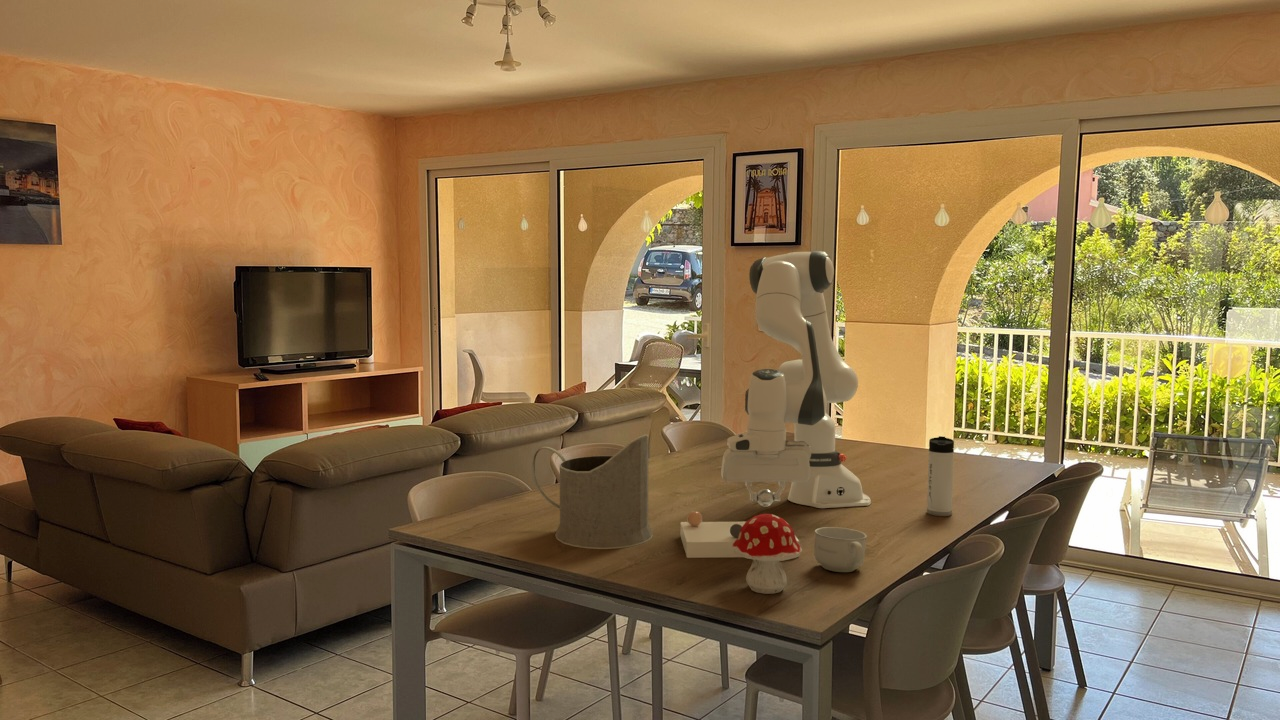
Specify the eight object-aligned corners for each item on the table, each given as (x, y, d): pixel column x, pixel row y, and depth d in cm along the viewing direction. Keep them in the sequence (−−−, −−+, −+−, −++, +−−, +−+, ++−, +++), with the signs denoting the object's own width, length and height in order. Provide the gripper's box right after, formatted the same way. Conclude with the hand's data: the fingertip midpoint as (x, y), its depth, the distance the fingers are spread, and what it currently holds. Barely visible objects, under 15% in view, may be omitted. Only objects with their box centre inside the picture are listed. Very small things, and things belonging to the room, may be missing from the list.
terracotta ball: (701, 523, 218) (701, 509, 218) (702, 527, 214) (702, 513, 214) (686, 523, 218) (686, 509, 217) (687, 527, 214) (687, 513, 214)
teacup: (808, 561, 200) (808, 525, 200) (856, 560, 201) (857, 524, 201) (826, 582, 187) (827, 543, 186) (878, 580, 188) (879, 542, 187)
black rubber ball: (742, 535, 208) (742, 522, 208) (744, 539, 205) (744, 526, 205) (729, 535, 208) (729, 522, 208) (730, 539, 205) (730, 526, 205)
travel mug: (951, 511, 244) (954, 436, 243) (951, 517, 238) (954, 441, 236) (927, 509, 246) (929, 435, 245) (926, 515, 240) (928, 439, 238)
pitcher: (625, 554, 206) (625, 443, 204) (507, 536, 219) (505, 433, 217) (667, 529, 226) (668, 428, 224) (557, 514, 240) (556, 420, 238)
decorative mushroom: (776, 606, 173) (777, 528, 171) (717, 589, 182) (717, 515, 181) (815, 588, 183) (816, 514, 182) (757, 573, 192) (758, 502, 191)
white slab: (784, 535, 221) (784, 521, 220) (799, 556, 204) (799, 541, 203) (680, 536, 220) (680, 522, 219) (686, 557, 203) (686, 542, 202)
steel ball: (772, 504, 213) (772, 487, 213) (775, 508, 209) (775, 491, 209) (754, 504, 213) (755, 487, 213) (757, 508, 209) (758, 491, 209)
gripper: (808, 438, 213) (807, 497, 214) (720, 438, 213) (719, 497, 214) (814, 443, 207) (812, 503, 208) (724, 443, 206) (723, 503, 208)
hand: (765, 500), depth 211 cm, fingers closed on steel ball, 4 cm apart
